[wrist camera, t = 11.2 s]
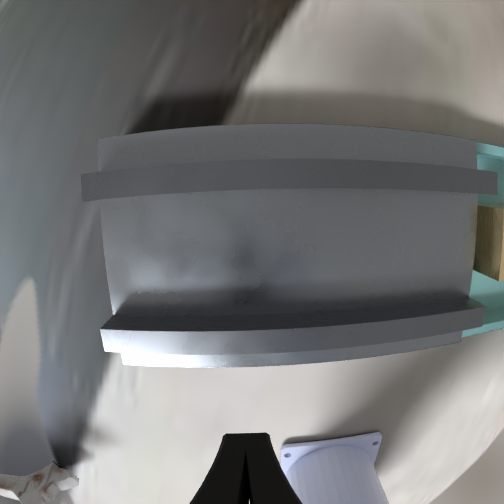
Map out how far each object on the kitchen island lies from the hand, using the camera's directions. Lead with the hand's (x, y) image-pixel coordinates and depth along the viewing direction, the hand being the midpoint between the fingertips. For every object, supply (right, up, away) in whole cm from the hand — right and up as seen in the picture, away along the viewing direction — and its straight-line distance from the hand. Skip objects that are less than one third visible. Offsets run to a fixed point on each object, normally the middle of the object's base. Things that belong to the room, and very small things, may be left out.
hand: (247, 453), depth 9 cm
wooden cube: (+16, +8, +9) cm, 19 cm away
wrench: (-28, -20, +15) cm, 37 cm away
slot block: (+3, +7, +9) cm, 12 cm away
